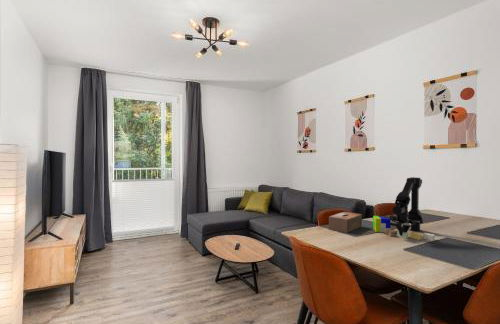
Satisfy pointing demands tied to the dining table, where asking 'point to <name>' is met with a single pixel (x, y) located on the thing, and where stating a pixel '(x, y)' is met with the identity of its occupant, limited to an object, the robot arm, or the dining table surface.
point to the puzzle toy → (381, 223)
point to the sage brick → (404, 235)
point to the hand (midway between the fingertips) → (402, 235)
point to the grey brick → (428, 236)
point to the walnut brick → (389, 232)
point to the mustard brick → (415, 235)
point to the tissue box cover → (345, 221)
